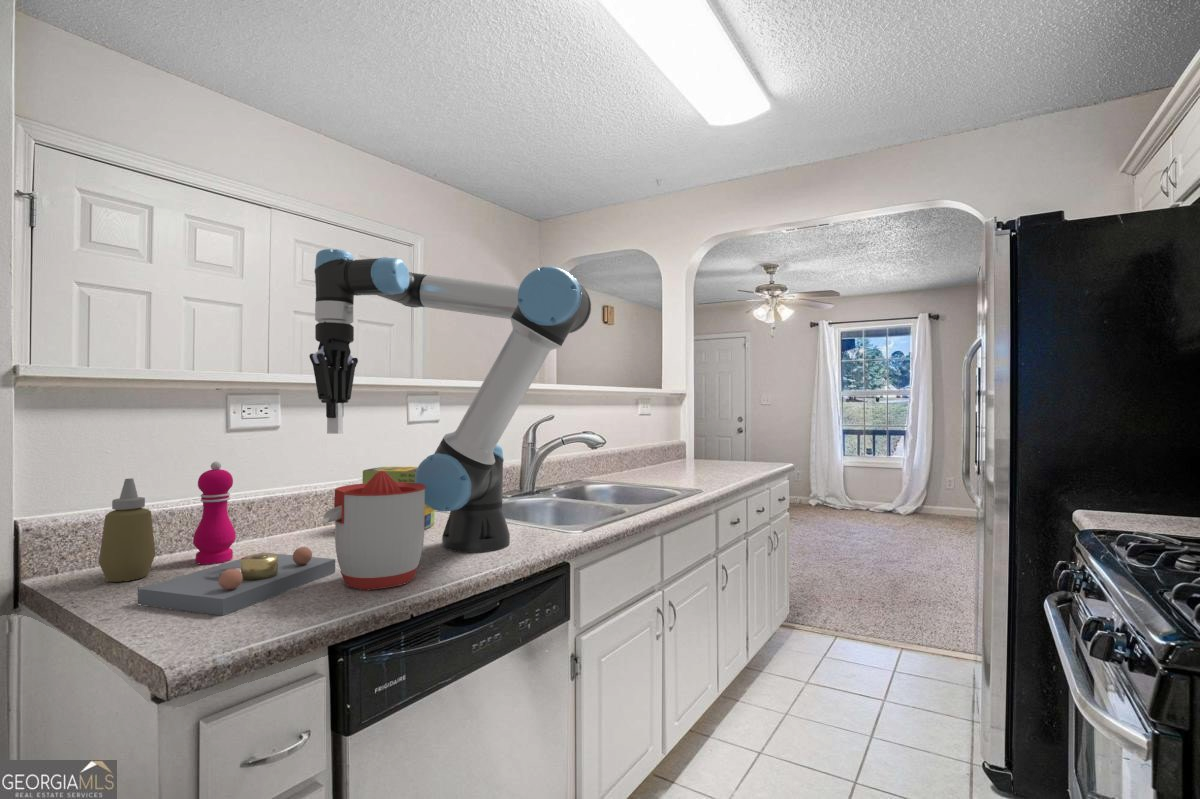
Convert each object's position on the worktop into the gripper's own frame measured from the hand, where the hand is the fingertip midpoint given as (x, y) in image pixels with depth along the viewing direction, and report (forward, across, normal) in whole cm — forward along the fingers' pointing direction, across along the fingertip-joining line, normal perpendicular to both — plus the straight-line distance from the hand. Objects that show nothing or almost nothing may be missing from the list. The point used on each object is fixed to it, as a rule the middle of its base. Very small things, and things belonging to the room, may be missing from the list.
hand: (334, 433), depth 125 cm
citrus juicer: (+26, -16, -20) cm, 37 cm away
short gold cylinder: (+23, -25, -4) cm, 34 cm away
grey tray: (+26, -24, 0) cm, 35 cm away
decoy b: (+22, -32, -6) cm, 39 cm away
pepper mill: (+26, -11, +20) cm, 34 cm away
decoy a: (+22, -17, -6) cm, 28 cm away
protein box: (+26, +26, +1) cm, 37 cm away
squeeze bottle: (+25, -25, +24) cm, 43 cm away
